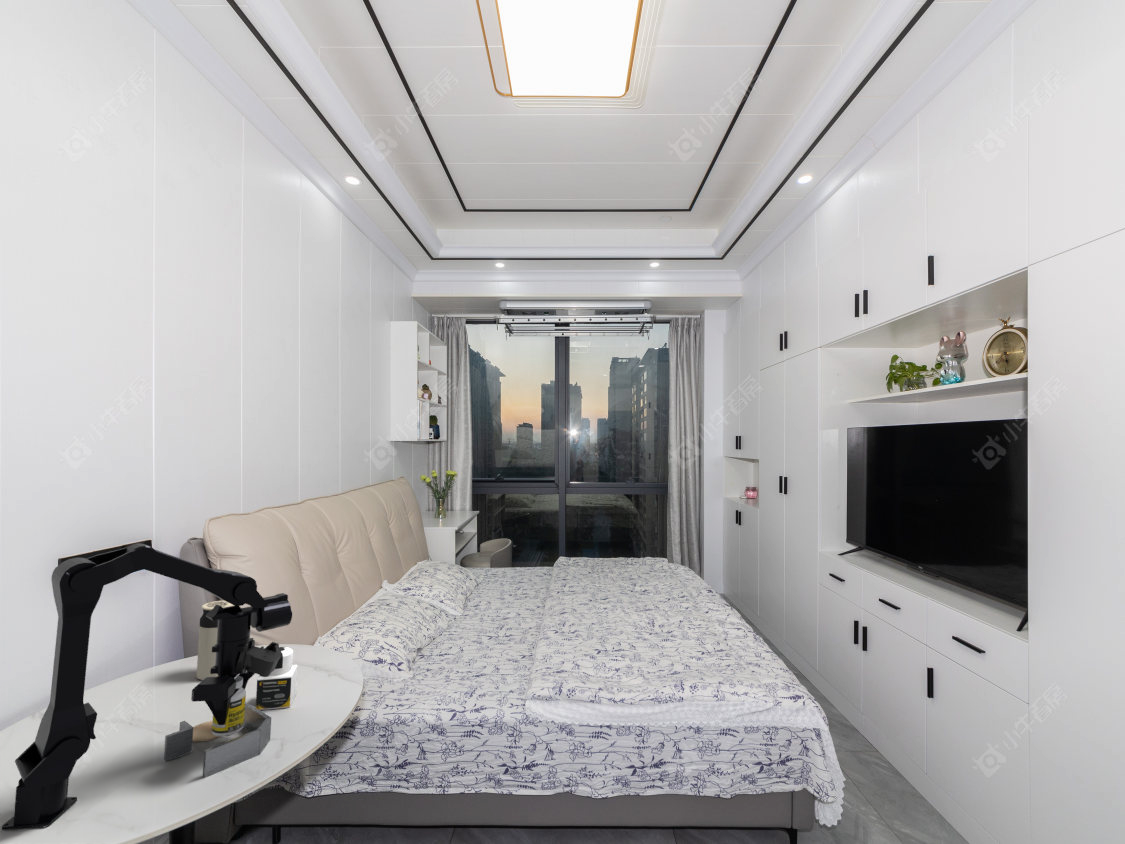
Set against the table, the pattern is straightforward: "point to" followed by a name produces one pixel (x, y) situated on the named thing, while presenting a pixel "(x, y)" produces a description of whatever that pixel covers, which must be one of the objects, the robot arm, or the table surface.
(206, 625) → the travel mug
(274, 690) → the medicine bottle
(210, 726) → the coaster
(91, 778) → the table surface
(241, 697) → the supplement bottle
